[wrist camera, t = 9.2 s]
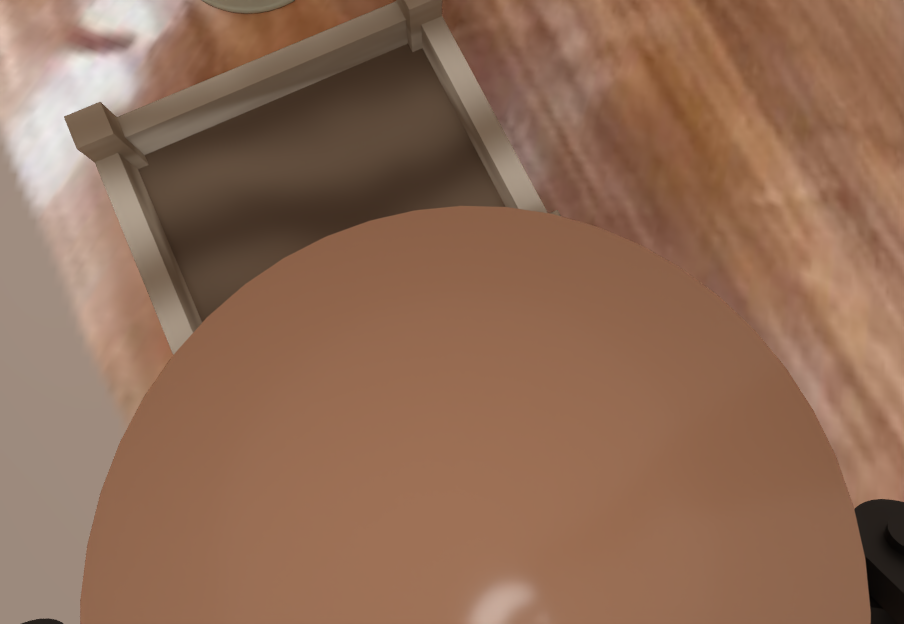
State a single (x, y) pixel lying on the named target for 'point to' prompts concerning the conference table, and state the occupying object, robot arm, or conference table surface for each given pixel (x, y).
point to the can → (248, 5)
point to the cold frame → (298, 155)
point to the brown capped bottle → (474, 446)
